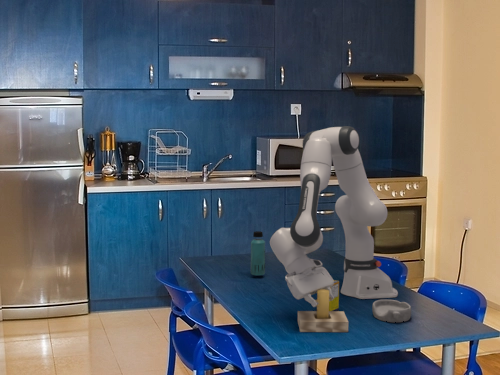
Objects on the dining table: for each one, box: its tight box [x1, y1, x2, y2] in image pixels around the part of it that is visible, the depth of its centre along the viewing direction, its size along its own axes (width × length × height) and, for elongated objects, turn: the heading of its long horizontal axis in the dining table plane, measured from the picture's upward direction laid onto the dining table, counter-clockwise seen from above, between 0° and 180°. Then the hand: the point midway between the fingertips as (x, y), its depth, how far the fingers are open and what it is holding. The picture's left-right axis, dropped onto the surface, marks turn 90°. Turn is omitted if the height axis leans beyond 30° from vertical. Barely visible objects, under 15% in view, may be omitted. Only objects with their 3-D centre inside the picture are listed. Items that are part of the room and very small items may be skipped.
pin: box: [316, 289, 329, 319], centre depth 244 cm, size 4×4×12 cm
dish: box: [371, 299, 412, 323], centre depth 256 cm, size 14×14×5 cm
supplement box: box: [329, 279, 340, 311], centre depth 263 cm, size 6×6×11 cm
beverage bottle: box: [250, 230, 266, 276], centre depth 311 cm, size 6×7×20 cm
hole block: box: [297, 310, 349, 333], centre depth 245 cm, size 16×12×4 cm
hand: (324, 302), depth 243 cm, fingers open, 8 cm apart
